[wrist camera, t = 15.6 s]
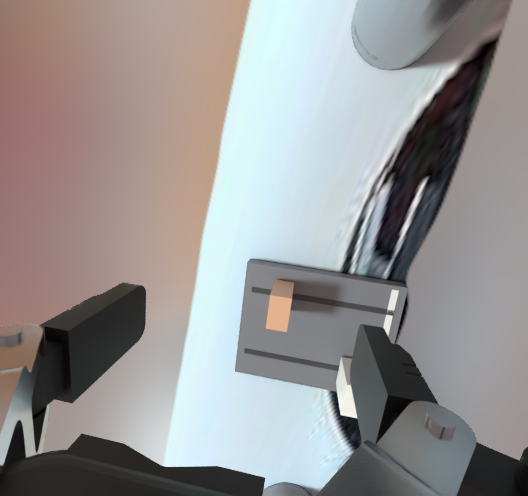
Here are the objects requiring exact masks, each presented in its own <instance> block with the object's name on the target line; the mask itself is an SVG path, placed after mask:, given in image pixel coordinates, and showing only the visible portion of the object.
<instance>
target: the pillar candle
mask: <svg viewBox="0 0 528 496" xmlns="http://www.w3.org/2000/svg"><path fill="white" fill-rule="evenodd" d="M262 496H311V494H310V493H309V492H307V491H306V490H305V489H304V488H302V487H300V486H297V485H295V484H291V483H285V482H284V483H279V484H276V485H273V486H270V487H268V488H266V489H264V491H263V495H262Z"/></svg>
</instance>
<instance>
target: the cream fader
mask: <svg viewBox="0 0 528 496" xmlns="http://www.w3.org/2000/svg"><path fill="white" fill-rule="evenodd" d="M351 361H352V359H351V358H345V357H341V360H340V365H339V370H338V375H337V380H336V388H337V394H338V401H339V407H340V414H341V415H344V416H349V417H353V418H357V413H356V408H355V403H354V398H353V393H352V388H351V383H350V367H351Z"/></svg>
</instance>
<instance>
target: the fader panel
mask: <svg viewBox="0 0 528 496" xmlns="http://www.w3.org/2000/svg"><path fill="white" fill-rule="evenodd" d="M275 279H276V280H283V281H289V282H294V287H293V295H292V302H291V309H290V315H289V322H288V328H287V332H282V331H277V330H271V329H266V322H267V315H268V307H269V300H270V294H271V291H272V288H273V285H274V282H275ZM407 291H408V287H407V286H406V285H405V284H404V283H402V282H395V281H389V280H382V279H376V278H370V277H363V276H357V275H350V274H344V273H338V272H331V271H325V270H318V269H312V268H306V267H299V266H293V265H287V264H280V263H274V262H267V261H261V260H255V259H250V260H249V261H248V262H247V271H246V279H245V288H244V297H243V305H242V314H241V323H240V331H239V340H238V349H237V357H236V366H235V371H236V372H241V373H246V374H251V375H256V376H261V377H266V378H271V379H276V380H281V381H286V382H291V383H296V384H301V385H306V386H311V387H316V388H321V389H326V390H331V391H336V392H337V388H336V380H337V375H338V370H339V365H340V360H341V357H345V358H351V359H352V356H353V351H354V347H355V342H356V337H357V333H358V329H359V326H360V324H365V325H371V326H377V327H383V328H384V329H385V331H386V333H387V335H388V337H389V339H390V341H391V343H392V344H395V340H396V336H397V332H398V327H399V323H400V319H401V315H402V311H403V307H404V303H405V299H406V295H407Z"/></svg>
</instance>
